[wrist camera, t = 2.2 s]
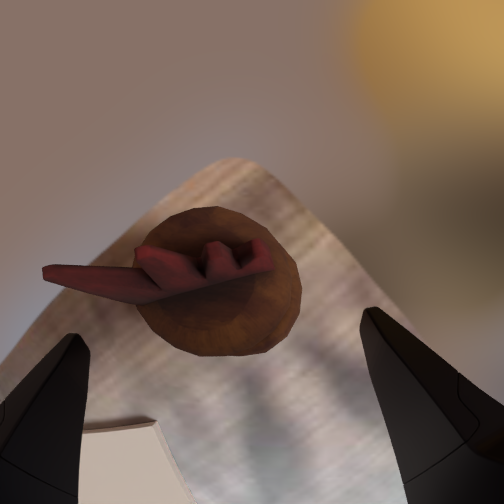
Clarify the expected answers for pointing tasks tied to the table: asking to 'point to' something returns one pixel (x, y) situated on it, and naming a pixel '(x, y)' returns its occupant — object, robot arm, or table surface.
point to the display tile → (129, 467)
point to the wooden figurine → (203, 283)
